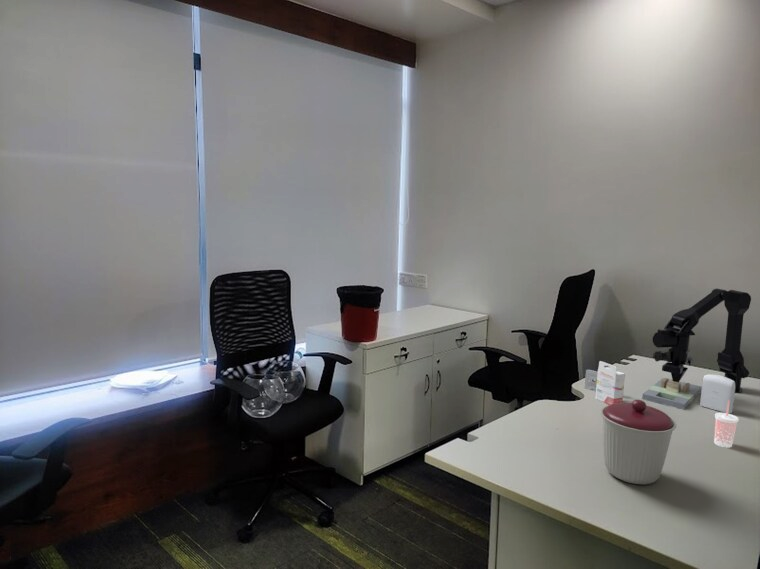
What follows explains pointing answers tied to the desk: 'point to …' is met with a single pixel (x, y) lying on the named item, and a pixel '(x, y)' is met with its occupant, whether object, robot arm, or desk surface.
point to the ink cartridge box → (609, 384)
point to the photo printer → (717, 393)
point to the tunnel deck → (672, 394)
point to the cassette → (591, 380)
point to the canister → (635, 441)
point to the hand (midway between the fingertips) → (675, 385)
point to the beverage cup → (725, 428)
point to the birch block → (673, 386)
